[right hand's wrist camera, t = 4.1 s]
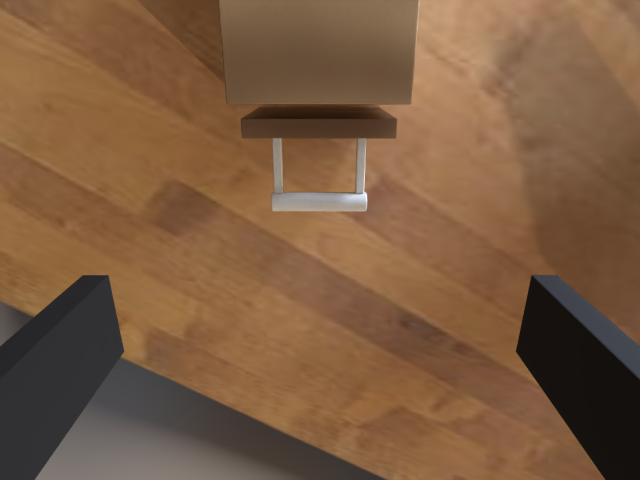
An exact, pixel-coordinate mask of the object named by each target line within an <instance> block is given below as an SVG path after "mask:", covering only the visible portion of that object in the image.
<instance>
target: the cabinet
mask: <svg viewBox="0 0 640 480" xmlns="http://www.w3.org/2000/svg"><path fill="white" fill-rule="evenodd" d="M419 4H420V0H219V13H220V26H221V39H222V52H223V65H224V78H225V91H226V103H227V104H411V103H412V93H413V81H414V68H415V55H416V42H417V29H418V17H419Z"/></svg>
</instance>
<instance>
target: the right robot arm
mask: <svg viewBox="0 0 640 480" xmlns="http://www.w3.org/2000/svg"><path fill="white" fill-rule="evenodd" d="M123 352H124V349H123V344H122V339H121V334H120V329H119V324H118V320H117V315H116V310H115V305H114V300H113V296H112V291H111V286H110V281H109V276H108V275H83V276H82V277H80V278H79V279H78V280H77V281H76V282H75V283H73V284H72V285H71V286H70V287H69V288H68V289H67V290H65V291H64V292H63V293H62V294H61V295H60V296H58V297H57V298H56V299H55V300H54V301H53V302H51V303H50V304H49V305H48V306H47V307H46V308H44V309H43V310H42V311H41V312H40V313H39V314H37V315H36V316H35V317H34V318H33V319H32V320H31V321H29V322H28V323H27V324H26V325H25V326H24V327H22V328H21V329H20V330H19V331H18V332H17V333H15V334H14V335H13V336H12V337H11V338H10V339H9V340H7V341H6V342H5V343H4V344H3V345H2V346H0V480H35V478H36V477H37V476H38V474H39V473H40V471H41V470H42V468H43V467H44V465H45V464H46V463H47V461H48V460H49V458H50V457H51V455H52V454H53V453H54V451H55V450H56V448H57V447H58V445H59V444H60V442H61V441H62V440H63V438H64V437H65V435H66V434H67V433H68V431H69V430H70V428H71V427H72V425H73V424H74V423H75V421H76V420H77V418H78V417H79V415H80V414H81V413H82V411H83V410H84V408H85V407H86V405H87V404H88V403H89V401H90V400H91V398H92V397H93V395H94V394H95V392H96V391H97V390H98V388H99V387H100V385H101V384H102V382H103V381H104V380H105V378H106V377H107V375H108V374H109V372H110V371H111V370H112V368H113V367H114V365H115V364H116V362H117V361H118V360H119V358H120V357H121V355H122V354H123ZM516 352H517V354H518V355H519V357H520V358H521V360H522V361H523V362H524V364H525V365H526V367H527V368H528V370H529V371H530V372H531V374H532V375H533V377H534V378H535V380H536V381H537V382H538V384H539V385H540V387H541V388H542V390H543V391H544V392H545V394H546V395H547V397H548V398H549V400H550V401H551V402H552V404H553V405H554V407H555V408H556V410H557V411H558V413H559V414H560V415H561V417H562V418H563V420H564V421H565V423H566V424H567V425H568V427H569V428H570V430H571V431H572V433H573V434H574V435H575V437H576V438H577V440H578V441H579V443H580V444H581V445H582V447H583V448H584V450H585V451H586V453H587V454H588V455H589V457H590V458H591V460H592V461H593V463H594V464H595V465H596V467H597V468H598V470H599V471H600V473H601V474H602V476H603V477H604V478H605V480H640V346H638V345H637V344H636V343H635V342H634V341H633V340H632V339H630V338H629V337H628V336H627V335H626V334H625V333H623V332H622V331H621V330H620V329H619V328H618V327H616V326H615V325H614V324H613V323H612V322H611V321H609V320H608V319H607V318H606V317H605V316H604V315H603V314H601V313H600V312H599V311H598V310H597V309H596V308H594V307H593V306H592V305H591V304H590V303H589V302H587V301H586V300H585V299H584V298H583V297H582V296H580V295H579V294H578V293H577V292H576V291H575V290H574V289H572V288H571V287H570V286H569V285H568V284H567V283H565V282H564V281H563V280H562V279H561V278H560V277H558V276H557V275H532V276H531V281H530V286H529V291H528V296H527V300H526V305H525V310H524V315H523V320H522V325H521V329H520V334H519V339H518V344H517V349H516Z"/></svg>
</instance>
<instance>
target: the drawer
mask: <svg viewBox="0 0 640 480" xmlns="http://www.w3.org/2000/svg"><path fill="white" fill-rule="evenodd" d="M241 129H242V138H272V148H273V173H274V192H273V193H272V196H271V207H272V211H366V209H367V194H366V193H365V192H364V181H365V157H366V138H396V132H397V119H396V118H395V117H393V116H392V115H390V114H389V113H387V112H385V111H384V110H382V109H381V108H379V107H259V108H258V109H256V110H255V111H253V112H251V113H250V114H248V115H246V116H245V117H243V118H241ZM282 138H357V150H356V180H355V192H283V168H282Z"/></svg>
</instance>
